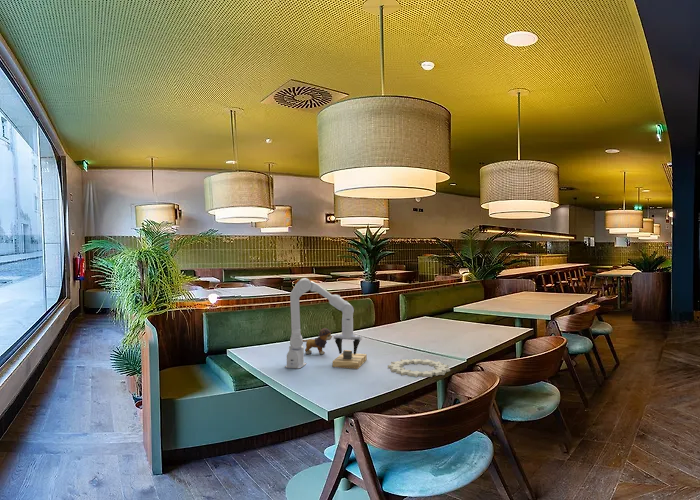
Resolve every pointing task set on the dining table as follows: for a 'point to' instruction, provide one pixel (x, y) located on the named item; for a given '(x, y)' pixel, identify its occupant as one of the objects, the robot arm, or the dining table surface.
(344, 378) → the dining table surface
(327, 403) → the dining table surface
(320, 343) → the figurine
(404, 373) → the decorative wreath
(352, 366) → the hub plate
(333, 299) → the robot arm
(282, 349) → the dining table surface
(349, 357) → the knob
